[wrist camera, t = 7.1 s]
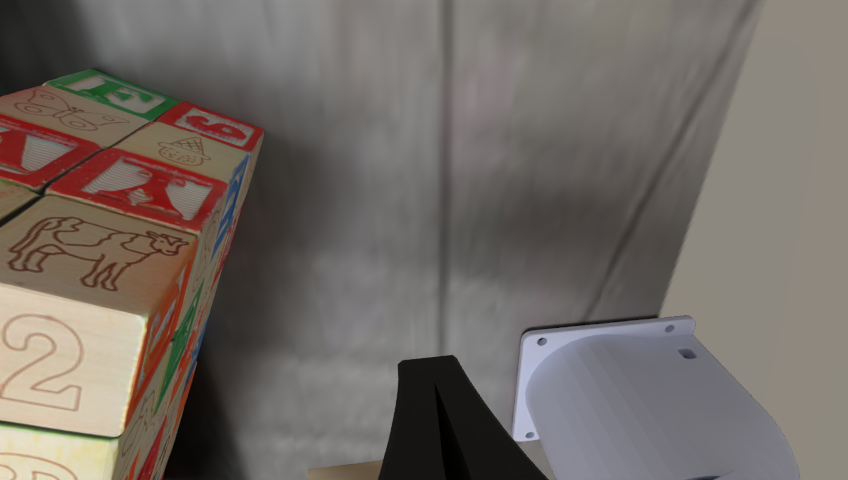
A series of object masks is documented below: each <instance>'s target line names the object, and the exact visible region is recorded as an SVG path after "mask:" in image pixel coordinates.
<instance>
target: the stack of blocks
mask: <svg viewBox="0 0 848 480" xmlns="http://www.w3.org/2000/svg"><path fill="white" fill-rule="evenodd" d="M263 138H264V130H263V129H260V128H258V127H255V126H252V125H249V124H246V123H244V122H241V121H238V120H235V119H233V118H230V117H227V116H224V115H221V114H219V113H216V112H213V111H210V110H207V109H205V108H202V107H199V106H196V105H193V104H191V103H188V102H181V101H178V100H175V99H173V98H170V97H167V96H164V95H162V94H159V93H156V92H153V91H151V90H148V89H145V88H142V87H140V86H137V85H134V84H131V83H129V82H126V81H123V80H120V79H117V78H115V77H112V76H109V75H106V74H104V73H101V72H99V71H96V70H92V69H90V70H86V71H82V72H78V73H75V74H71V75H67V76H63V77H60V78H57V79H54V80H51V81H47V82H45V83H44V84H43V85H42V86H37V87H34V88H30V89H26V90H23V91H19V92H16V93H12V94H9V95H5V96H2V97H0V480H162V479H163V475H164V471H165V467H166V464H167V461H168V458H169V455H170V453H171V450H172V447H173V444H174V441H175V438H176V434H177V431H178V427H179V424H180V420H181V417H182V413H183V410H184V405H185V403H186V400H187V397H188V393H189V390H190V386H191V383H192V379H193V376H194V372H195V369H196V366H197V361H196V359H197V356H198V353H199V349H200V346H201V342H202V339H203V335H204V332H205V329H206V325H207V322H208V318H209V315H210V310H211V306H212V303H213V300H214V296H215V293H216V289H217V286H218V282H219V279H220V275H221V272H222V268H223V265H224V262H225V260H226V258H227V256H228V253H229V250H230V247H231V244H232V240H233V237H234V233H235V229H236V226H237V223H238V220H239V216H240V213H241V209H242V206H243V203H244V199H245V197H246V195H247V192H248V189H249V185H250V182H251V179H252V175H253V172H254V169H255V165H256V162H257V159H258V155H259V152H260V148H261V145H262V142H263Z"/></svg>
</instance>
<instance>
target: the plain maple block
mask: <svg viewBox="0 0 848 480" xmlns="http://www.w3.org/2000/svg"><path fill="white" fill-rule="evenodd" d="M382 463H383V460H381V461H373V462H365V463H357V464H349V465H341V466H332V467H324V468H316V469H308V477H307V480H378V477H379V473H380V470H381V466H382Z"/></svg>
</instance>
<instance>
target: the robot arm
mask: <svg viewBox="0 0 848 480" xmlns="http://www.w3.org/2000/svg"><path fill="white" fill-rule="evenodd" d="M667 326H668V327H667ZM695 326H696V322H695V320H694V319H693V318H692V317H690V316H686V315H685V316H675V317H666V318H655V319H645V320H635V321H624V322H614V323H604V324H594V325H584V326H574V327H564V328H554V329H543V330H533V331H528V332H526V333H525V334H524V335H523V336H522V338H521V346H520V356H519V365H518V375H517V385H516V395H515V404H514V414H513V424H512V436H513V439H514V440H515V441H529V440H537V439H540V441H541V444H542V446H543V449H544V451H545V453H546V456H547V458H548V461H549V463H550V466H551V468H552V471H553V473H554V475H555V478H556V480H800V475H799V470H798V466H797V463H796V460H795V458H794V455H793V452H792V450H791V448H790V446H789V444H788V442H787V440H786V438H785V436H784V434H783V433H782V431H781V429H780V428H779V427H778V425H777V424H776V422H775V421H774V420H773V418H772V417H771V416H770V415H769V414H768V413H767V412H766V410H765V409H764V408H763V407H762V406H761V405H760V404H759V403H758V402H757V401H756V400H755V399H754V398H753V397H752V396H751V395H750V394H749V393H748V392H747V391H746V390H745V388H744V387H743V386H742V385H741V384H740V383H739V382H738V381H737V380H736V379H735V378H734V377H733V376H732V375H731V374H730V373H729V372H728V371H727V370H726V369H725V368H724V367H723V366H722V365H721V364H720V362H719V361H718V360H717V359H716V358H715V357H714V356H713V355H712V354H711V353H710V352H709V351H708V350H707V349H706V348H705V347H704V346H703V345H702V344H701V343H700V342H699V341H698V340H697V339H696V338H695V337H694V336H693V332H694V329H695ZM540 338H543V339H542V340H540V341H538V340H539V339H540ZM513 439H512V438H511V436H510V435H509V434H508V433H507V431H506V430H505V429H504V428H503V426H502V425H501V424H500V422H499V421H498V420H497V418H496V417H495V416H494V414H493V413H492V412H491V411H490V409H489V408H488V407H487V405H486V404H485V402H484V401H483V400H482V398H481V397H480V395H479V394H478V392H477V391H476V389H475V388H474V386H473V385H472V383H471V382H470V380H469V378H468V377H467V375H466V374H465V372H464V370H463V369H462V367H461V365H460V363H459V361H458V359H457V358H456V357H454V356H453V355H448V356H439V357H430V358H420V359H411V360H402V361H401V362H400V363H399V364H398V393H397V400H396V407H395V412H394V417H393V422H392V427H391V432H390V437H389V441H388V445H387V448H386V452H385V455H384V459H383V463H382V466H381V470H380V473H379V477H378V480H549V479H548V478H547V477H546V476H545V475H544V474H543V473H542V472H541V471H540V470H539V469H538V468H537V467H536V466H535V464H534V463H533V462H532V461H531V460H530V459H529V458H528V457H527V455H526V454H525V453H524V452H523V451H522V450H521V448H520V447H519V446H518V445H517V444H516V442H515V441H514V440H513Z"/></svg>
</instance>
